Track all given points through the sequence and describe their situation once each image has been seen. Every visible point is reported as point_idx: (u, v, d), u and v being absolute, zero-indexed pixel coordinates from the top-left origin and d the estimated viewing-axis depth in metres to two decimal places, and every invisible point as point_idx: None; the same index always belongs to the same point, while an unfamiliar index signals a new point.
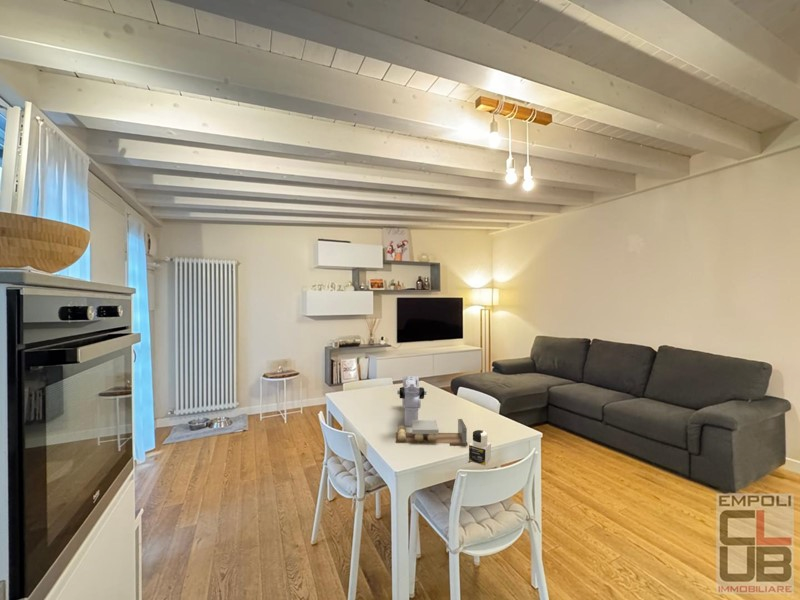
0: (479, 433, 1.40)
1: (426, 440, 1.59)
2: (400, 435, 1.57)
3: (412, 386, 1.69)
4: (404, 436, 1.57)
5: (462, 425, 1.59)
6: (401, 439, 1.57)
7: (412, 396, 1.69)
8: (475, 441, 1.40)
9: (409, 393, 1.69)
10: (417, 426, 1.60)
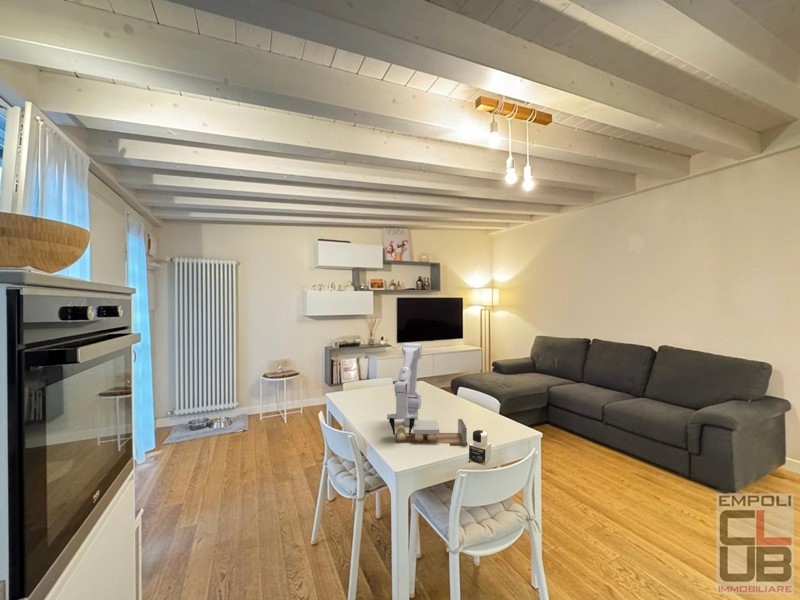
0: (479, 433, 1.40)
1: (426, 440, 1.59)
2: (399, 435, 1.57)
3: None
4: (403, 436, 1.57)
5: (462, 425, 1.59)
6: (401, 439, 1.57)
7: None
8: (475, 441, 1.40)
9: None
10: (418, 426, 1.60)
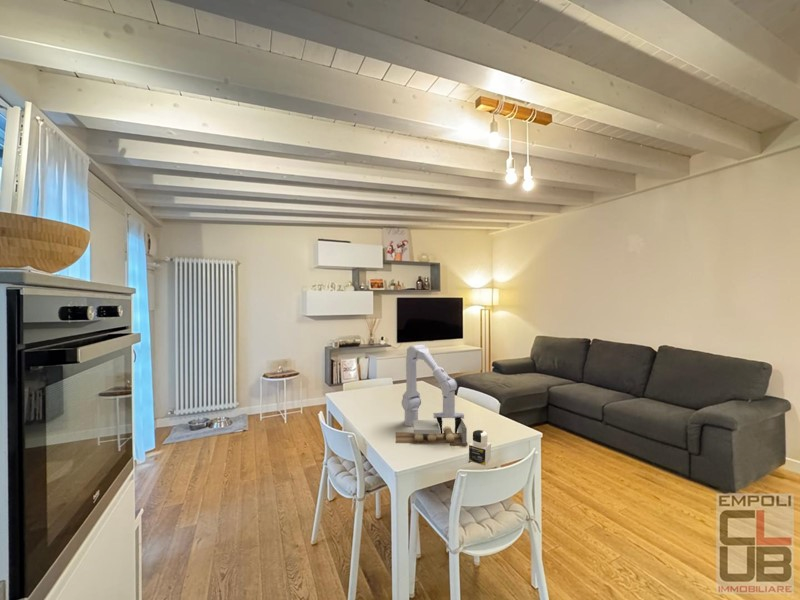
0: (479, 433, 1.40)
1: (426, 440, 1.59)
2: (449, 435, 1.57)
3: None
4: (452, 437, 1.57)
5: (462, 425, 1.59)
6: (449, 439, 1.57)
7: None
8: (475, 441, 1.40)
9: None
10: (419, 426, 1.60)
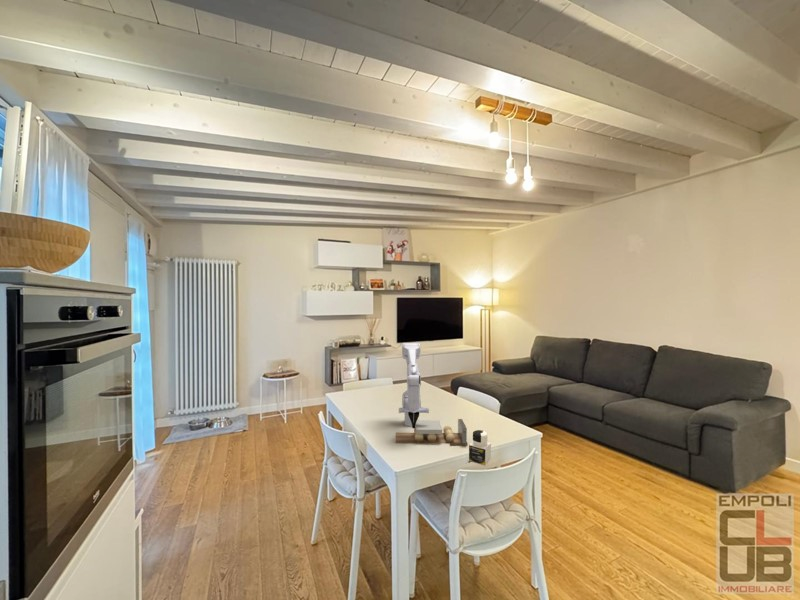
0: (479, 433, 1.40)
1: (426, 440, 1.59)
2: (449, 435, 1.57)
3: None
4: (453, 437, 1.57)
5: (462, 425, 1.59)
6: (449, 439, 1.57)
7: None
8: (475, 441, 1.40)
9: None
10: (421, 426, 1.60)
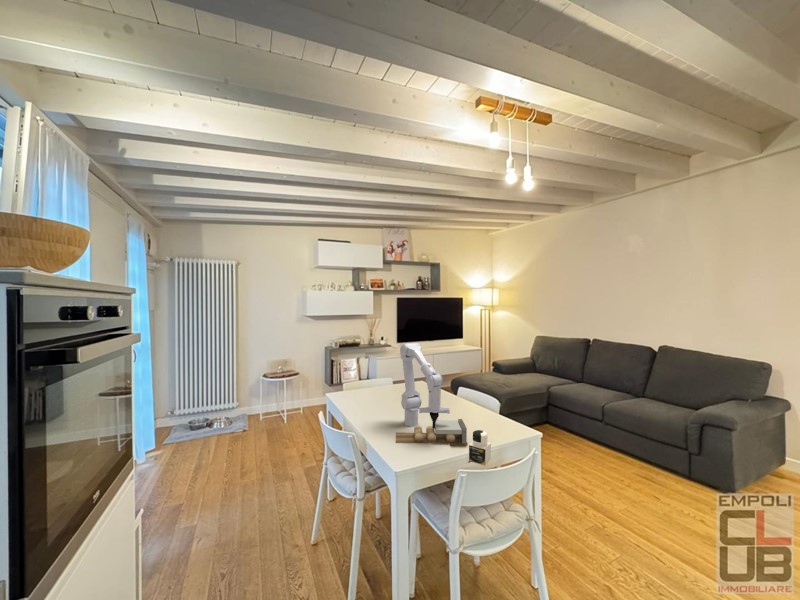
0: (479, 433, 1.40)
1: (426, 440, 1.59)
2: (449, 435, 1.57)
3: None
4: (453, 437, 1.57)
5: (462, 425, 1.59)
6: (449, 439, 1.57)
7: None
8: (475, 441, 1.40)
9: None
10: (440, 426, 1.60)
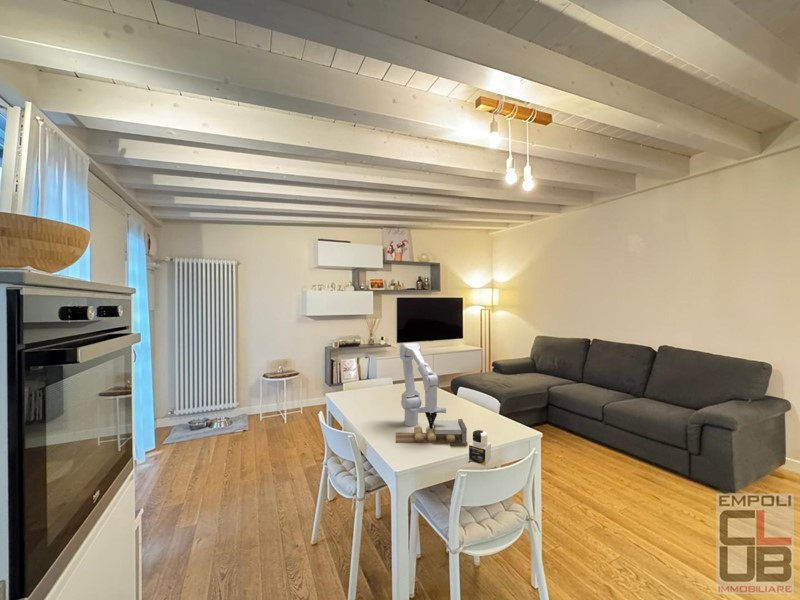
0: (479, 433, 1.40)
1: (426, 440, 1.59)
2: (449, 435, 1.57)
3: None
4: (453, 437, 1.57)
5: (462, 425, 1.59)
6: (449, 439, 1.57)
7: None
8: (475, 441, 1.40)
9: None
10: (439, 426, 1.60)
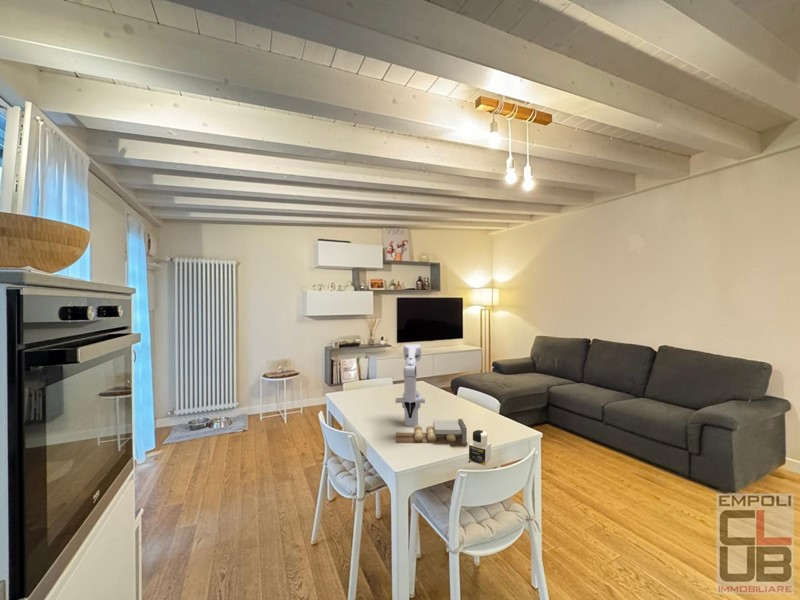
0: (479, 433, 1.40)
1: (426, 440, 1.59)
2: (450, 435, 1.57)
3: None
4: (453, 437, 1.57)
5: (462, 425, 1.59)
6: (450, 439, 1.57)
7: None
8: (475, 441, 1.40)
9: None
10: (439, 426, 1.60)
